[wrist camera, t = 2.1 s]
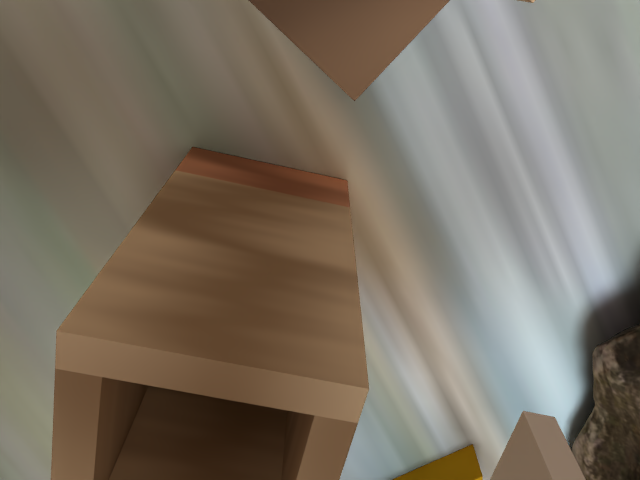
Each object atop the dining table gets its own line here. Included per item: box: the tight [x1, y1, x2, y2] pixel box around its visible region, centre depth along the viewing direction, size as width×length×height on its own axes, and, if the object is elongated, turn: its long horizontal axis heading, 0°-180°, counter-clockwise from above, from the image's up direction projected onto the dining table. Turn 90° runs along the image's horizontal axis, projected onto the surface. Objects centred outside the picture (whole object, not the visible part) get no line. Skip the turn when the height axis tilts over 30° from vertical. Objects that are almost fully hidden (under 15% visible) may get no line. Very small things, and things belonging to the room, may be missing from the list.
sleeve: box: [51, 147, 369, 480], centre depth 16 cm, size 5×5×11 cm
